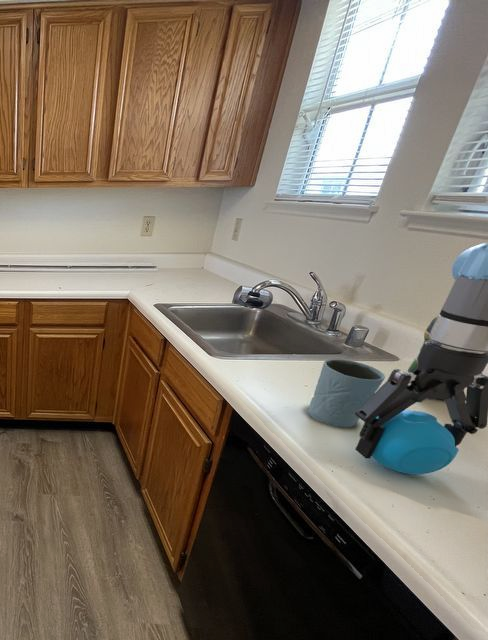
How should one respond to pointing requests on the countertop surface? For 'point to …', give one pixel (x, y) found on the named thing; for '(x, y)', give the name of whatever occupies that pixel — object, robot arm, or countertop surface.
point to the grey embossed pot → (343, 391)
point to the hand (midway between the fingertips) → (399, 456)
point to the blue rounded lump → (415, 444)
